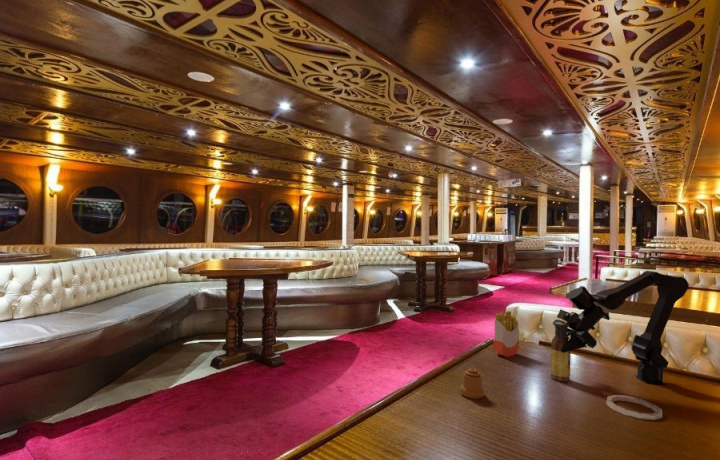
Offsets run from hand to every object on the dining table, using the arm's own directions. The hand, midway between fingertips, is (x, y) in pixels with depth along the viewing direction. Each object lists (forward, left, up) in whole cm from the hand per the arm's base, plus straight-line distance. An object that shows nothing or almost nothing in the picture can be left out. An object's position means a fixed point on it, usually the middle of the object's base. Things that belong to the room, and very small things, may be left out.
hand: (556, 349), depth 137 cm
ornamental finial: (+33, +20, -11) cm, 40 cm away
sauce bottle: (-1, 0, -11) cm, 11 cm away
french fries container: (+11, -25, -11) cm, 29 cm away
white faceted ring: (-14, +21, -11) cm, 27 cm away
